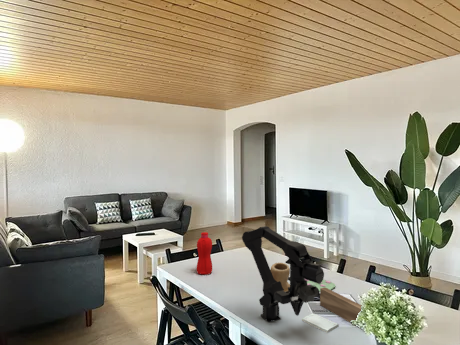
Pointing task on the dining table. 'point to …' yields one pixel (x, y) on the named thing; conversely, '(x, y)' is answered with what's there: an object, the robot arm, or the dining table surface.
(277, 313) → the robot arm
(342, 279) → the dining table surface
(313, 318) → the hard drive
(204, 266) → the water bottle
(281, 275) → the stone cup
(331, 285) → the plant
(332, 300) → the walnut board
